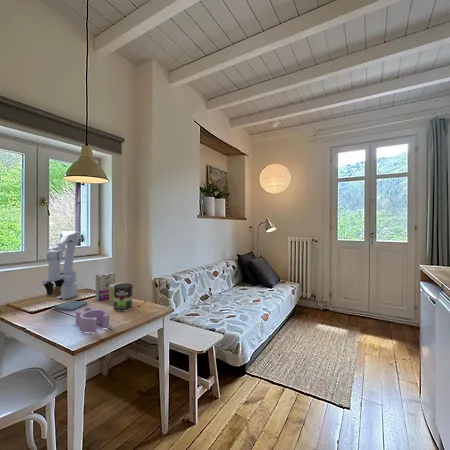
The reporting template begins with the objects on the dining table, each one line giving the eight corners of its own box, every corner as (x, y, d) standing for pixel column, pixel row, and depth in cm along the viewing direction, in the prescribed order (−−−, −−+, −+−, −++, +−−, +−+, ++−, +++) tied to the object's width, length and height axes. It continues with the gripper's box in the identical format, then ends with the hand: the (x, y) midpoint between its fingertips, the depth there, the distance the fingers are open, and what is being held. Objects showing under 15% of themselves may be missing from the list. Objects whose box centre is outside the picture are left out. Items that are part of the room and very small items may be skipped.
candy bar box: (111, 295, 175) (111, 272, 175) (115, 297, 172) (115, 273, 172) (94, 299, 166) (95, 274, 166) (98, 301, 163) (99, 276, 163)
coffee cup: (127, 303, 161) (127, 284, 161) (113, 307, 153) (114, 287, 153) (118, 300, 166) (119, 282, 166) (105, 304, 159) (105, 284, 158)
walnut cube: (53, 294, 152) (53, 286, 152) (60, 295, 151) (61, 286, 151) (46, 296, 147) (46, 288, 147) (53, 297, 146) (53, 289, 146)
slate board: (70, 302, 159) (70, 300, 159) (87, 304, 157) (87, 302, 157) (54, 309, 147) (54, 307, 147) (72, 311, 145) (72, 309, 145)
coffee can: (130, 311, 147) (131, 287, 147) (111, 312, 145) (112, 288, 145) (133, 305, 157) (134, 283, 157) (115, 306, 155) (116, 283, 155)
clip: (68, 324, 127) (68, 311, 127) (93, 317, 137) (93, 304, 137) (88, 336, 116) (88, 321, 116) (114, 327, 126) (114, 314, 126)
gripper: (49, 273, 141) (48, 297, 142) (70, 268, 155) (69, 290, 156) (38, 272, 143) (38, 296, 143) (60, 267, 157) (59, 289, 157)
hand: (53, 293), depth 149 cm, fingers closed on walnut cube, 5 cm apart
